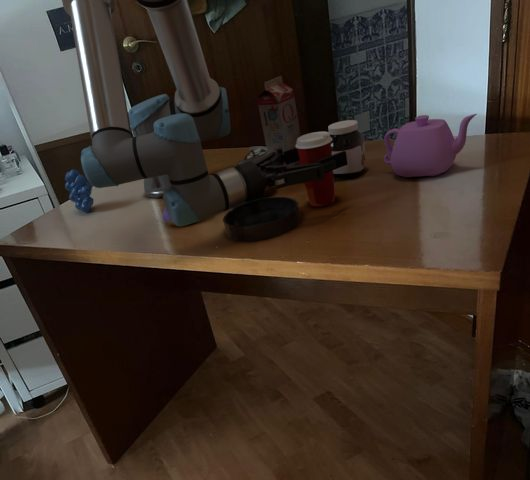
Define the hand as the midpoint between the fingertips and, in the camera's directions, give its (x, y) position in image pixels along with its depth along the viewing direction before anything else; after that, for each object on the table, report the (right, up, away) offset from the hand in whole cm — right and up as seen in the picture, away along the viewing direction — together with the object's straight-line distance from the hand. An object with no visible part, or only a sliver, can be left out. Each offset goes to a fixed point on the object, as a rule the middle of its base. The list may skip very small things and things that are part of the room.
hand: (327, 153), depth 112 cm
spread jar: (+6, +2, +18) cm, 19 cm away
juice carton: (-7, +8, +31) cm, 33 cm away
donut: (-32, -11, +13) cm, 37 cm away
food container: (-13, -4, +17) cm, 22 cm away
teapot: (+24, -2, +7) cm, 25 cm away
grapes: (-62, -3, +35) cm, 72 cm away
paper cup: (-1, -9, +4) cm, 10 cm away
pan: (-14, -15, 0) cm, 20 cm away
